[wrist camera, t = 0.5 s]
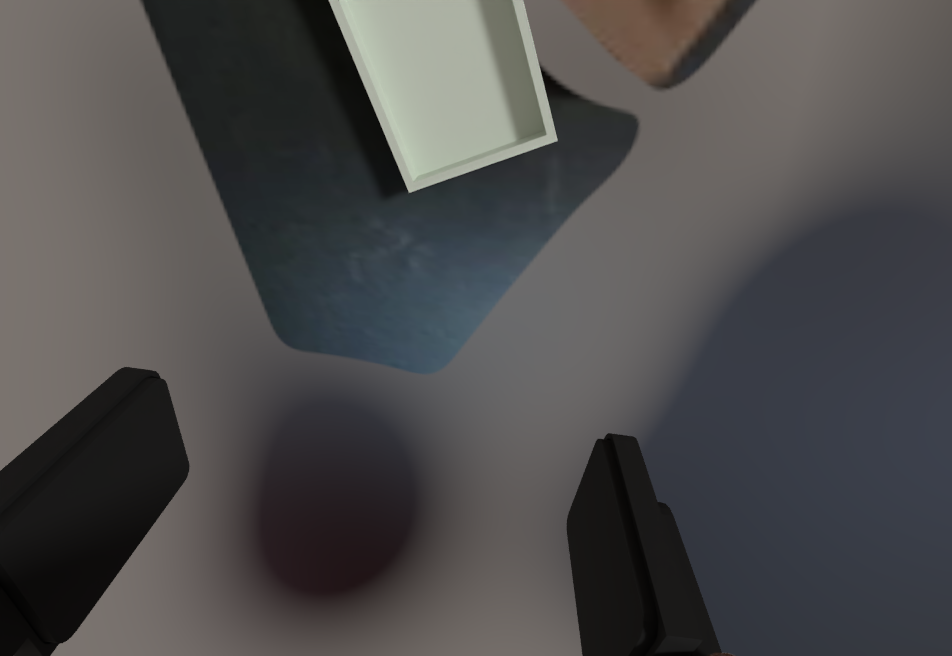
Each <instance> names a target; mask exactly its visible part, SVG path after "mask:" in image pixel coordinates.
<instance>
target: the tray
mask: <svg viewBox="0 0 952 656" xmlns="http://www.w3.org/2000/svg"><path fill="white" fill-rule="evenodd" d="M329 2H330V5H331V7H332V10H333V12H334V14H335V17H336V19H337V22H338V24H339V26H340V29H341V31H342V33H343V36H344V38H345V41H346V43H347V45H348V48H349V50H350V53H351V55H352V57H353V60H354V62H355V65H356V67H357V69H358V72H359V74H360V77H361V79H362V81H363V84H364V86H365V89H366V91H367V93H368V96H369V98H370V100H371V103H372V105H373V108H374V110H375V112H376V115H377V117H378V120H379V122H380V124H381V127H382V129H383V132H384V134H385V136H386V139H387V141H388V144H389V146H390V148H391V151H392V153H393V155H394V158H395V160H396V163H397V165H398V167H399V170H400V172H401V175H402V177H403V179H404V182H405V184H406V187H407V189H408V191H409V193H410V192H413V191H416V190H419V189H422V188H424V187H427V186H430V185H433V184H436V183H439V182H442V181H444V180H447V179H450V178H453V177H456V176H459V175H462V174H464V173H467V172H470V171H473V170H476V169H479V168H481V167H484V166H487V165H490V164H493V163H496V162H499V161H501V160H504V159H507V158H510V157H513V156H516V155H519V154H521V153H524V152H527V151H530V150H533V149H536V148H539V147H541V146H544V145H547V144H550V143H553V142H556V141H558V140H557V136H556V132H555V128H554V124H553V120H552V116H551V112H550V108H549V104H548V99H547V95H546V91H545V87H544V83H543V79H542V75H541V71H540V67H539V63H538V59H537V55H536V51H535V46H534V42H533V38H532V34H531V30H530V26H529V22H528V18H527V14H526V10H525V6H524V2H523V0H329Z"/></svg>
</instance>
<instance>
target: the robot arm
mask: <svg viewBox="0 0 952 656" xmlns="http://www.w3.org/2000/svg"><path fill="white" fill-rule="evenodd" d="M188 472H189V461H188V458H187V454H186V451H185V447H184V443H183V440H182V436H181V433H180V429H179V426H178V422H177V418H176V415H175V411H174V408H173V404H172V401H171V397H170V393H169V390H168V387H167V383H166V381H165V380H164V379H161V378H160V376H159V374H158V373H157V372H156V371H152V370H145V369H137V368H130V367H124V368H121V369H120V370H118V371H117V372H115V373H114V374H113V375H112V376H111V377H110V378H108V379H107V380H106V381H105V382H104V383H103V384H101V385H100V386H99V387H98V388H97V389H96V390H94V391H93V392H92V393H91V394H90V395H88V396H87V397H86V398H85V399H84V400H83V401H82V402H80V403H79V404H78V405H77V406H76V407H74V409H72V410H71V411H70V412H69V413H68V414H66V415H65V416H64V417H63V418H62V419H60V421H58V422H57V423H56V424H55V425H54V426H52V427H51V428H50V429H49V430H48V431H46V432H45V433H44V434H43V435H42V436H41V437H39V438H38V439H37V440H36V441H35V442H34V443H32V444H31V445H30V446H29V447H28V448H27V449H25V450H24V451H23V452H22V453H21V454H20V455H18V456H17V457H16V458H15V459H14V460H13V461H11V462H10V463H9V464H8V465H7V466H5V467H4V468H3V469H2V470H1V471H0V656H50V655H51V654H52V652H53V651H54V650H55V648H56V647H57V646H58V644H59V643H63V642H65V641H67V640H68V639H69V638H70V637H72V635H73V634H74V633H75V632H76V631H77V629H78V628H79V627H80V625H81V624H82V622H83V621H84V620H85V618H86V617H87V615H88V614H89V613H90V611H91V610H92V608H93V607H94V606H95V604H96V603H97V601H98V600H99V599H100V598H101V596H102V595H103V593H104V592H105V591H106V589H107V588H108V586H109V585H110V583H111V582H112V581H113V580H114V578H115V577H116V575H117V574H118V573H119V571H120V570H121V569H122V567H123V566H124V564H125V563H126V562H127V560H128V559H129V557H130V556H131V555H132V553H133V552H134V550H135V549H136V548H137V546H138V545H139V544H140V542H141V541H142V540H143V538H144V537H145V535H146V534H147V533H148V531H149V530H150V529H151V527H152V526H153V524H154V523H155V522H156V520H157V519H158V517H159V516H160V515H161V513H162V512H163V511H164V509H165V508H166V506H167V505H168V503H169V502H170V501H171V500H172V498H173V497H174V495H175V494H176V492H177V491H178V490H179V488H180V487H181V486H182V484H183V483H184V481H185V480H186V478H187V476H188ZM567 535H568V544H569V552H570V560H571V567H572V576H573V583H574V591H575V599H576V607H577V615H578V623H579V631H580V638H581V646H582V654H583V656H735V655H732V654H729V653H722V652H721V649H720V646H719V643H718V640H717V638H716V635H715V632H714V629H713V626H712V623H711V621H710V618H709V615H708V612H707V609H706V607H705V604H704V601H703V598H702V595H701V593H700V590H699V587H698V584H697V581H696V578H695V575H694V573H693V570H692V567H691V564H690V561H689V559H688V556H687V553H686V550H685V547H684V544H683V542H682V539H681V536H680V533H679V531H678V527H677V525H676V522H675V519H674V516H673V514H672V512H671V510H670V508H669V507H668V506H667V505H666V504H664V503H661V502H657V499H656V496H655V493H654V490H653V487H652V484H651V481H650V478H649V475H648V472H647V469H646V465H645V462H644V459H643V456H642V453H641V450H640V447H639V444H638V442H637V439H636V438H635V437H632V436H624V435H617V434H610V433H608V434H607V435H606V436H605V438H604V439H598V440H597V441H596V443H595V445H594V448H593V451H592V453H591V456H590V458H589V461H588V464H587V466H586V469H585V472H584V474H583V477H582V480H581V482H580V485H579V487H578V490H577V493H576V495H575V498H574V501H573V503H572V506H571V509H570V511H569V514H568V518H567Z"/></svg>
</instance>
